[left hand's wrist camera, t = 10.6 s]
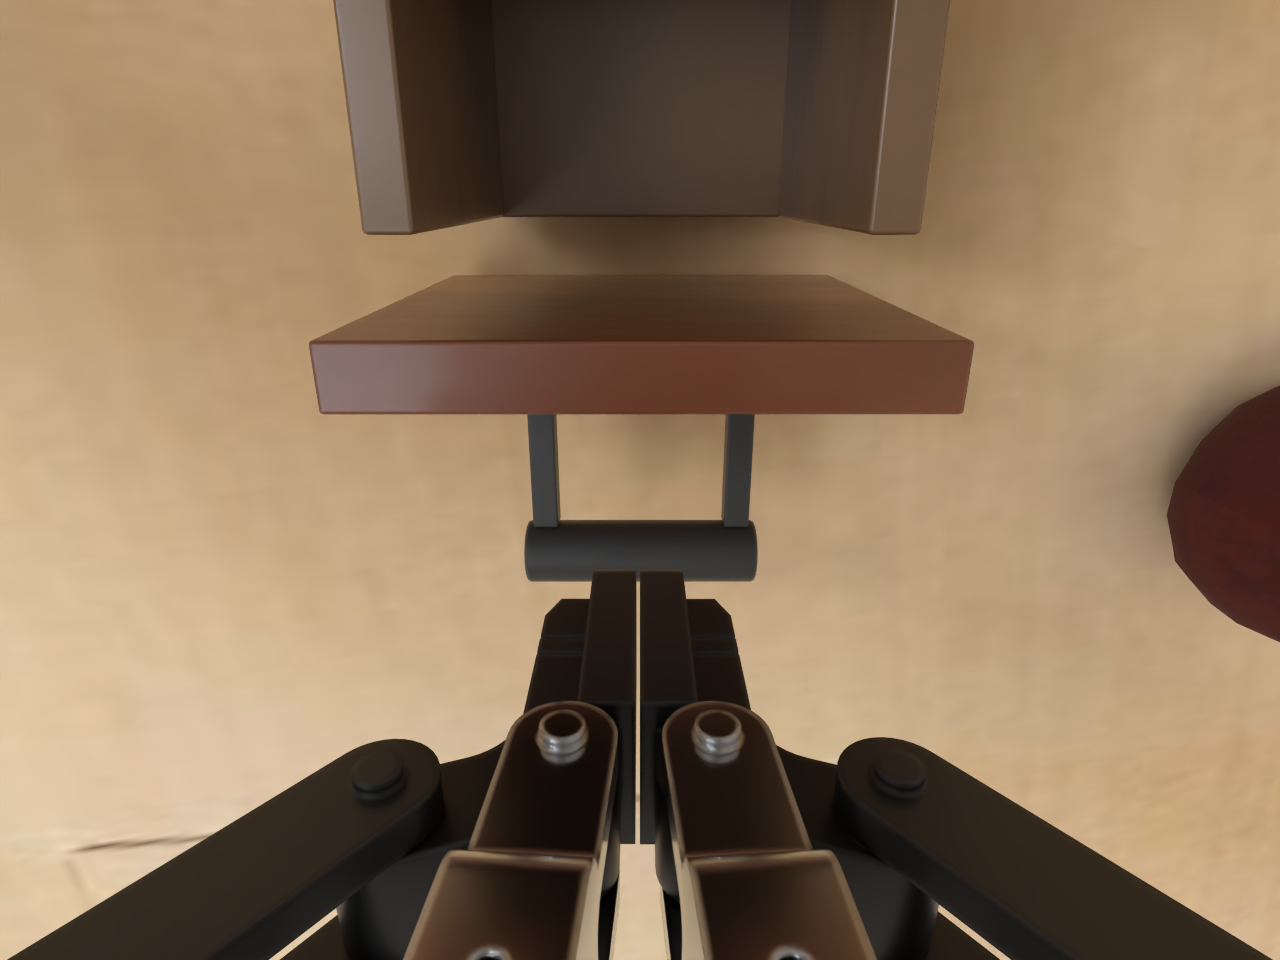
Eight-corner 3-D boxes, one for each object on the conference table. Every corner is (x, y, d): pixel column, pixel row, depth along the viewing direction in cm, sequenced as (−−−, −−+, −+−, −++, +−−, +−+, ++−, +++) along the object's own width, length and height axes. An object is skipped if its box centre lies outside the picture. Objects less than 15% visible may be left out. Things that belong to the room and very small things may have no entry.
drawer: (809, 507, 23) (917, 710, 14) (472, 507, 23) (365, 710, 14) (891, -423, 16) (1236, -1262, 7) (390, -423, 16) (49, -1262, 7)
